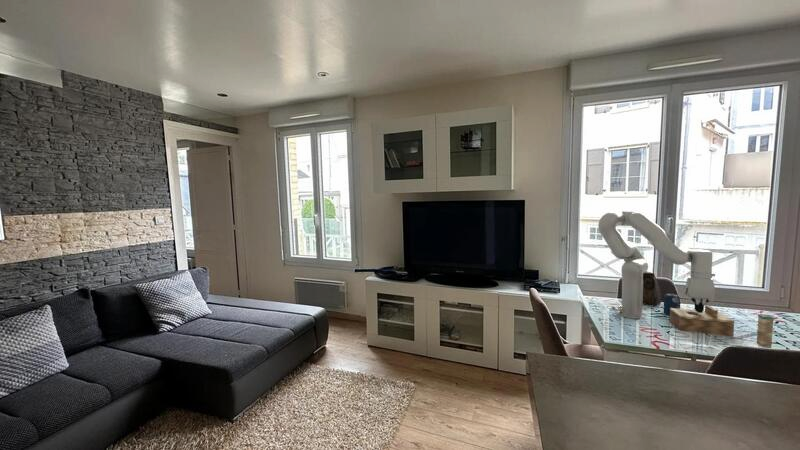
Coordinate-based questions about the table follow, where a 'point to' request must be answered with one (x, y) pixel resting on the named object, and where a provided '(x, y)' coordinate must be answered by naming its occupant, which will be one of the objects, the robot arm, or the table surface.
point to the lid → (702, 314)
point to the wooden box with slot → (702, 325)
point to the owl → (651, 289)
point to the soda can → (671, 302)
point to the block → (765, 330)
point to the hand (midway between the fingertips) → (699, 311)
